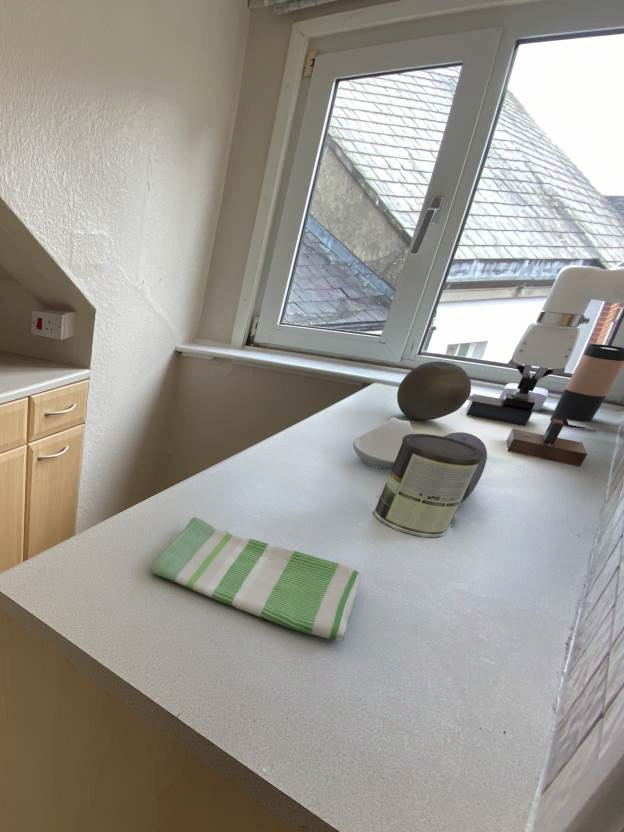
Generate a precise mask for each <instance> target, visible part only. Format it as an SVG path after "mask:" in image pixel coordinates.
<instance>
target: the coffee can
mask: <svg viewBox="0 0 624 832" xmlns="http://www.w3.org/2000/svg"><path fill="white" fill-rule="evenodd" d="M483 457H484V453H483V452H482V451H481V450H479V449H478V448H476V447H474V446H472V445H470V444H467V443H465V442H462V441H458V440H455V439H451V438H447V437H443V435H437V434H429V433H413V434H408V435H406V436H404V438H403V440H402V445H401V447H400V450H399V452H398V455H397V457H396V460H395V462H394V465H393V467H392V470H390V472H389V475H388V477H387V479H386V482H385V485H384V487H383V489H382V492H381V494H380V497H379V499H378V500H377V501H378V502H377V504H376V506H375V509H374V510H373V514H375V515H374V517H375V518H376V517H377V518H378V519H379V520H378V519H377V518H376V519H377V520H378V521H380V522H381V521H382V522H383V523H382V522H381V523H382V524H384V525H386V526H387V525H388V527H389V528H392V529H394V530H396V531H399V532H401V533H405V534H407V535H412V536H416V537H422V538H439V536H440V537H444V536H445V535H446V534H447V530H448V528H449V526H450V524H451V523H452V520H453V518H454V516H455V514H456V512H457V510H458V508H459V506H460V504H461V503H460V502H461V500H462V498H463V496H464V494H465V492H466V490H467V488H468V486H469V483H470V481H471V479H472V477H473V475H474V473H475V471H476V469H477V467H478V465H479V463H480V461H481V460H482V459H483Z"/></svg>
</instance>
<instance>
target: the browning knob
mask: <svg viewBox="0 0 624 832" xmlns="http://www.w3.org/2000/svg"><path fill="white" fill-rule="evenodd" d="M564 427H565V426H564V424H563V421H562V420H559V419H554V418H553V419H552V421H551V420H550V423H549V425H548V427H547V428H546V431H545V432H544V434H543V435H544V436H543V439H544V442H546V443H551V444H554V442H555V441H556V439H557V438H559V435H560V433H561V431H562V430H563V428H564Z"/></svg>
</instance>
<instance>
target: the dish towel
mask: <svg viewBox="0 0 624 832" xmlns="http://www.w3.org/2000/svg"><path fill="white" fill-rule="evenodd" d="M149 572H150V573H152V574H153V575H155V576H158V577H161V578H163V579H166V580H169V581H171V582H175V583H177V584H179V585H181V586H183V587H186V588H188V589H190V590H192V591H194V592H197V593H199V594H202V595H204V596H207V597H209V598H211V599H213V600H215V601H218V602H221V603H223V604H225V605H228V606H232V607H234V608H236V609H238V610H240V611H242V612H243V611H244V612H246V613H249V614H251V615H254V616H257V617H259V618H261V619H265V620H267V621H270V622H272V623H274V624H277V625H280V626H281V627H282V626H283V627H285V628H289V629H291V630H293V631H296V632H301V633H305V634H309V635H314V636H317V637H320V638H323V639H324V638H325V639H327V640H331V641H339V642H342V641H345V637H346V636H345V634H346V631H347V627H348V624H349V620H350V618H351V614H352V612H353V609H354V605H355V602H356V599H357V596H358V593H359V590H360V587H361V579H362V573H361V572H360V571H357V570H355V569H354V568H352V567H351V566H348V565H346V564H342V563H339V562H335V561H332V560H328V559H324V558H321V557H318V556H315V555H311V554H307V553H305V552H302V551H298V550H293V549H289V548H286V547H281V546H277V545H273V544H271V543H268V542H264V541H262V540H258V539H253V538H245V537H242V536H238V535H235V534H233V533H230V532H229V531H225V530H223V529H220V528H218V527H215V526H213V525H211V524H209V523H207V522H206V521H204V520H203V519H201V518H199V517H196V516H194V517H191V519H190V520H189V522H188V524H187V525H186V526H185V528H184V530H183V532H181V533H180V535H178V536H177V537H176V538H175V539H174V540H173V541H172V542H171V543H170V544H169V545H168V546H167V548H165V549H164V550H163V551H162V552H161V553H160V554H159V556H158V557H156V559H155V560H154V562H153V563H152V564H151V565H150V568H149Z"/></svg>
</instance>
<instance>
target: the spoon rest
mask: <svg viewBox="0 0 624 832" xmlns="http://www.w3.org/2000/svg"><path fill="white" fill-rule="evenodd" d="M408 434H414V431H413V429H412V425H411V421H410V420H402V419H399V418H396V417H391V418H389V419H388V420H387V421H386V422H384V423H382V424H381V425H379V426H377V427H375V428H373V429H371V430H368V431H367V432H365V433H363V434H361V435H360V436H358V437H357V438H356V439H355V440H353V442H352V446H353V450H354V452H355V454H356V456H357V457H358V458H359V459H360V460H361V461H362V462H363V463H365V464H366V463H367V464H366V465H368V464H369V465H368V466H370V465H371V466H370V467H372V466H374V467H373V468H375V467H377V468H376V469H378V468H380V469H379V470H383V469H385V470H384V471H391V470H392V467H393V465H394V462H395V460H396V457H397V455H398V452H399V450H400V447H401V445H402V440H403V438H404V436H406V435H408Z"/></svg>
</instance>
